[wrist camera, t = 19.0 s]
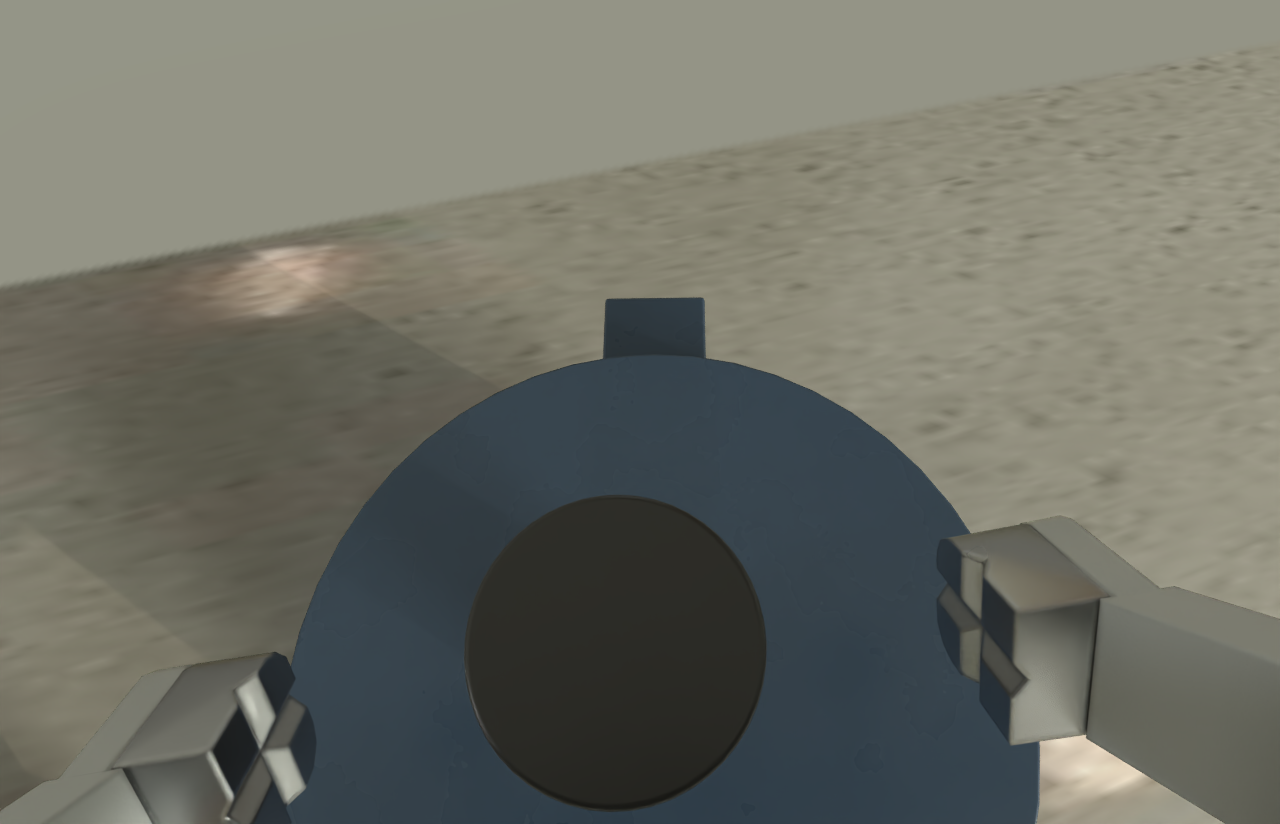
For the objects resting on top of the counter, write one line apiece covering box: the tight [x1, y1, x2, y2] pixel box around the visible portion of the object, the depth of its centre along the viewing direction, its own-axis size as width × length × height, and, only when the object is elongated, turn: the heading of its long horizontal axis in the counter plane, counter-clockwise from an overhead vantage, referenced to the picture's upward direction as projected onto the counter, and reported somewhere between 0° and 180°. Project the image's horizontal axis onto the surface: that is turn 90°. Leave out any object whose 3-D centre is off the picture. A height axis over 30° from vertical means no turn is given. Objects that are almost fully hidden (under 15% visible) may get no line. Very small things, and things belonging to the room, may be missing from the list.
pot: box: [603, 298, 706, 359], centre depth 18 cm, size 12×18×10 cm
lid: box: [286, 354, 1040, 824], centre depth 10 cm, size 13×13×9 cm
